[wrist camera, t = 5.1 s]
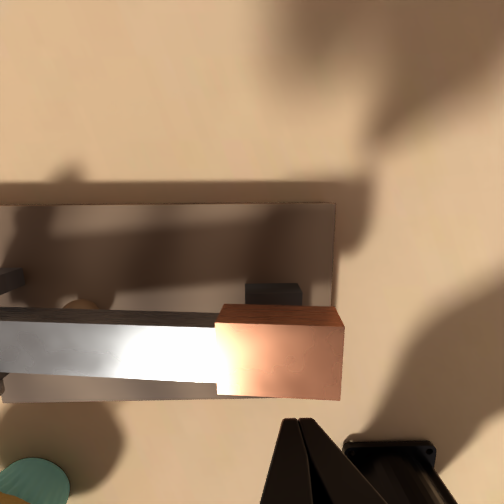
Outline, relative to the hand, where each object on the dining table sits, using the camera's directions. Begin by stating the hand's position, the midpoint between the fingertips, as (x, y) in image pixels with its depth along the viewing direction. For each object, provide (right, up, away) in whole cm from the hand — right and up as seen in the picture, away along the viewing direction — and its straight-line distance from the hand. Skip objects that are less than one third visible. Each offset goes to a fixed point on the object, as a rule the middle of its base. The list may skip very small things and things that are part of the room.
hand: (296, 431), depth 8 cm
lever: (-7, +1, +6) cm, 9 cm away
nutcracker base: (-7, +2, +10) cm, 12 cm away
